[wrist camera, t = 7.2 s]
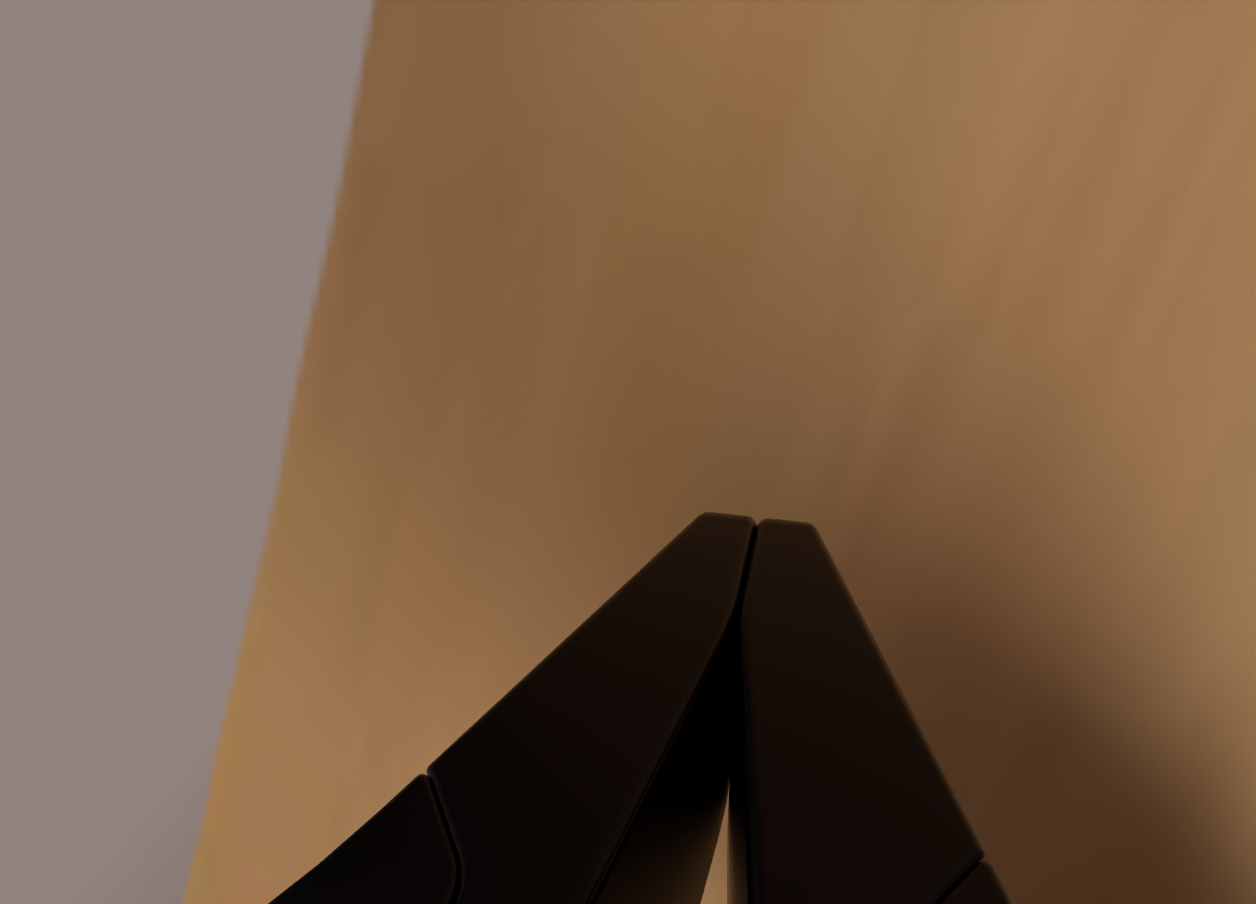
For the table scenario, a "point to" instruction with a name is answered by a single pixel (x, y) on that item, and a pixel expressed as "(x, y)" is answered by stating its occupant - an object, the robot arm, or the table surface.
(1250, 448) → the table surface
